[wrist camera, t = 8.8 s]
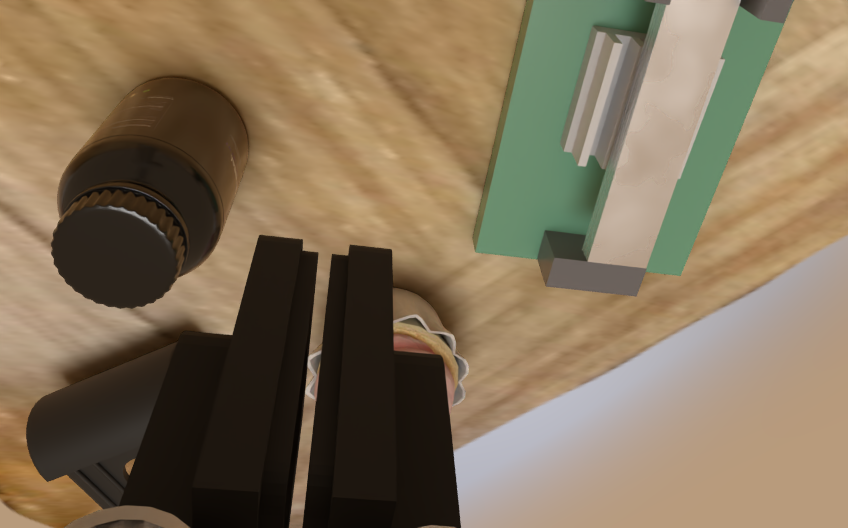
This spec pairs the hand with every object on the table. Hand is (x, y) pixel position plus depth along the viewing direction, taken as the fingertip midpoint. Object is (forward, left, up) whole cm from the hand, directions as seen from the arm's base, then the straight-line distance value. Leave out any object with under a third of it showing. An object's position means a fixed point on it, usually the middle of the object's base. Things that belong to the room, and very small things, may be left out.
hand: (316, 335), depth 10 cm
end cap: (+28, -10, -29) cm, 42 cm away
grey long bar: (+5, +14, -25) cm, 29 cm away
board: (+5, +14, -29) cm, 33 cm away
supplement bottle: (+11, -8, -29) cm, 32 cm away
